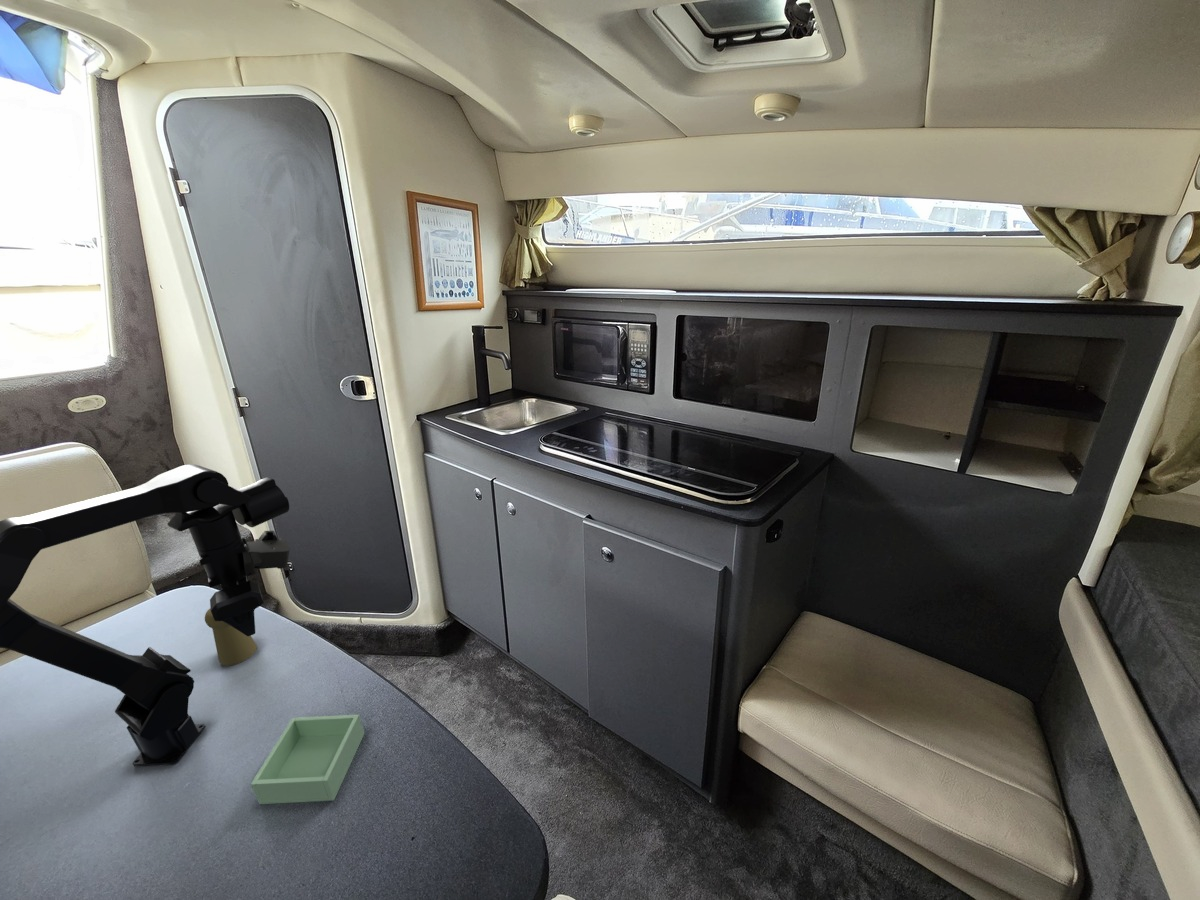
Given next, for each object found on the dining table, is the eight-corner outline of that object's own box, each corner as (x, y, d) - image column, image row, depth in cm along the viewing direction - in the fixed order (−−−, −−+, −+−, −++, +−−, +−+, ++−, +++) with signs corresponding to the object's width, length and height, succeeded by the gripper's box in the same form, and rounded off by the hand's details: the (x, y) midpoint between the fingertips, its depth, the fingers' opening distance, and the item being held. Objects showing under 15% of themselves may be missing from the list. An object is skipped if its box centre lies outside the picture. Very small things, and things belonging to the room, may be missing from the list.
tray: (259, 804, 68) (250, 784, 66) (299, 736, 77) (292, 717, 75) (334, 800, 68) (326, 780, 66) (364, 733, 77) (359, 714, 76)
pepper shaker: (237, 667, 90) (218, 620, 86) (210, 663, 92) (190, 616, 88) (264, 643, 96) (247, 598, 92) (238, 640, 97) (220, 594, 93)
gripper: (286, 547, 75) (312, 627, 81) (270, 503, 89) (293, 575, 95) (195, 576, 69) (230, 661, 75) (193, 525, 83) (223, 600, 89)
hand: (248, 619), depth 84 cm, fingers open, 9 cm apart
